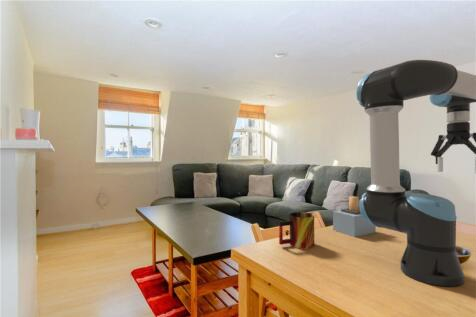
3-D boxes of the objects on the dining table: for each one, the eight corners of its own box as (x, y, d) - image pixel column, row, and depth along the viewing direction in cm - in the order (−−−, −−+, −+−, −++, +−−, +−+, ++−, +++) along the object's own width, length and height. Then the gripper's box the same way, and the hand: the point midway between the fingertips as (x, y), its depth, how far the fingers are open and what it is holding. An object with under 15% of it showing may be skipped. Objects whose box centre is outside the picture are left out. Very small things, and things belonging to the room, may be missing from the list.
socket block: (354, 237, 113) (354, 214, 113) (333, 230, 124) (333, 209, 124) (375, 232, 119) (375, 210, 119) (353, 226, 130) (353, 206, 130)
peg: (354, 219, 119) (354, 198, 119) (347, 218, 123) (347, 196, 122) (360, 218, 121) (360, 197, 121) (353, 217, 124) (353, 196, 124)
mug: (278, 247, 102) (278, 216, 102) (298, 238, 112) (298, 211, 112) (299, 253, 95) (299, 220, 95) (319, 244, 105) (318, 214, 105)
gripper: (501, 119, 100) (501, 173, 101) (431, 126, 123) (431, 170, 124) (491, 118, 97) (491, 174, 98) (421, 125, 120) (421, 171, 121)
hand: (458, 172), depth 111 cm, fingers open, 13 cm apart
